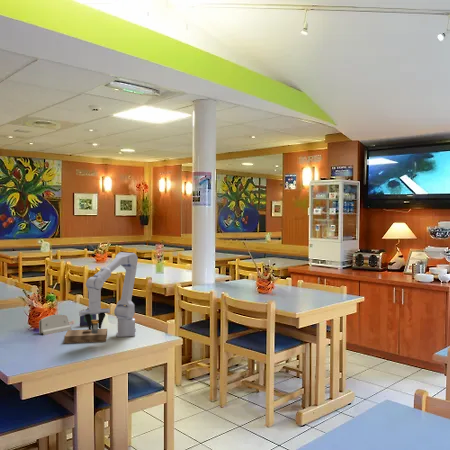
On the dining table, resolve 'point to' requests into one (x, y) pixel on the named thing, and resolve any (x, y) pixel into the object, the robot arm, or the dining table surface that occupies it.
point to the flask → (83, 320)
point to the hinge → (54, 324)
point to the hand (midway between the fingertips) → (94, 328)
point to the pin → (94, 326)
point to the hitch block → (85, 336)
